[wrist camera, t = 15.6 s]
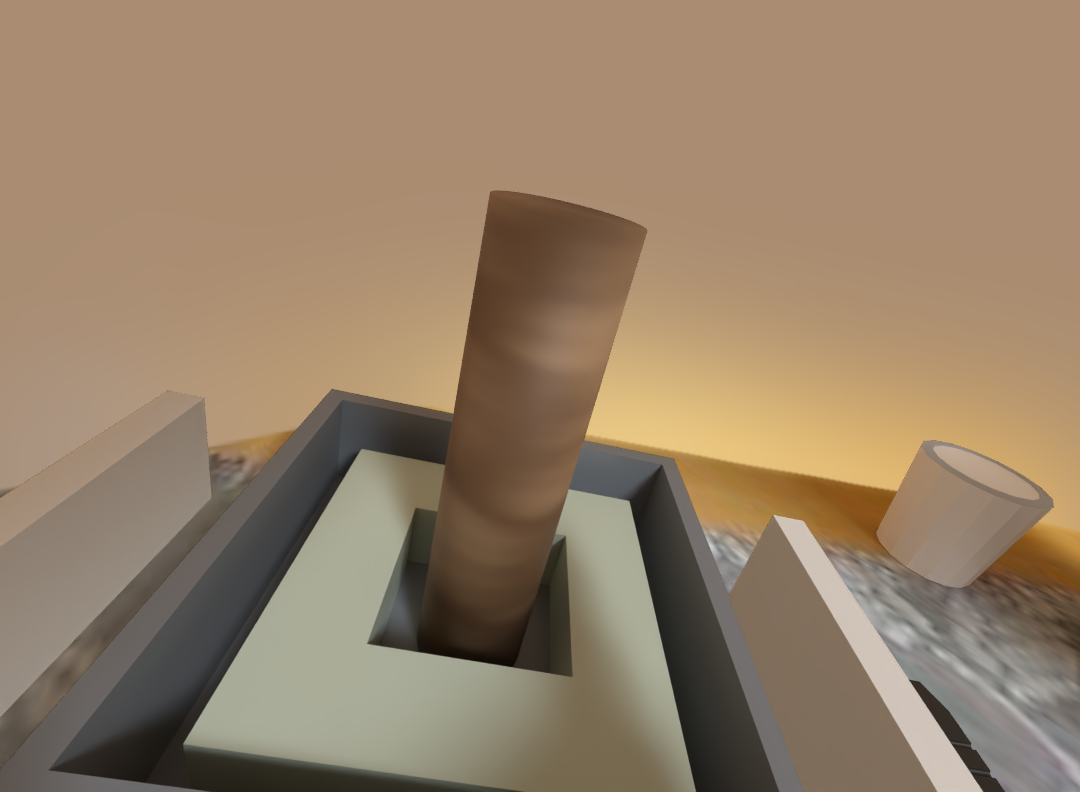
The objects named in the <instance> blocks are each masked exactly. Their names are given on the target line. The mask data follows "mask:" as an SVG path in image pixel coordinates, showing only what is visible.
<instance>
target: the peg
mask: <svg viewBox="0 0 1080 792" xmlns="http://www.w3.org/2000/svg"><path fill="white" fill-rule="evenodd" d="M646 234H647V229H646V228H644V227H643V226H641V225H639V224H637V223H634V222H632V221H629V220H627V219H624V218H621V217H618V216H615V215H612V214H609V213H605V212H602V211H599V210H595V209H592V208H587V207H584V206H581V205H577V204H573V203H569V202H564V201H560V200H555V199H551V198H546V197H541V196H536V195H531V194H525V193H518V192H511V191H491V192H490V196H489V202H488V209H487V214H486V221H485V226H484V233H483V238H482V245H481V251H480V257H479V263H478V270H477V275H476V281H475V287H474V293H473V299H472V305H471V311H470V317H469V323H468V329H467V336H466V342H465V348H464V354H463V360H462V366H461V372H460V378H459V384H458V390H457V396H456V402H455V408H454V414H453V420H452V426H451V432H450V438H449V445H448V451H447V457H446V463H445V469H444V475H443V481H442V487H441V493H440V499H439V505H438V511H437V517H436V523H435V529H434V535H433V541H432V548H431V554H430V560H429V566H428V572H427V578H426V584H425V590H424V596H423V602H422V608H421V614H420V620H419V626H418V632H417V645H418V650H419V653H426V654H432V655H438V656H444V657H451V658H457V659H463V660H469V661H475V662H482V663H488V664H494V665H500V666H506V667H513V665H514V664H515V662H516V660H517V658H518V655H519V651H520V648H521V645H522V642H523V638H524V635H525V632H526V628H527V625H528V622H529V619H530V615H531V612H532V609H533V605H534V602H535V599H536V596H537V592H538V589H539V586H540V582H541V579H542V576H543V572H544V569H545V566H546V563H547V559H548V556H549V553H550V549H551V546H552V543H553V540H554V536H555V533H556V530H557V526H558V523H559V520H560V517H561V513H562V510H563V507H564V503H565V500H566V497H567V494H568V490H569V487H570V484H571V480H572V477H573V474H574V471H575V467H576V464H577V461H578V457H579V454H580V451H581V448H582V444H583V441H584V438H585V434H586V431H587V428H588V424H589V421H590V418H591V415H592V411H593V408H594V405H595V402H596V398H597V395H598V392H599V388H600V385H601V382H602V378H603V375H604V372H605V368H606V365H607V362H608V359H609V355H610V352H611V349H612V346H613V342H614V338H615V336H616V332H617V329H618V326H619V322H620V319H621V316H622V313H623V309H624V306H625V303H626V300H627V296H628V293H629V290H630V286H631V283H632V280H633V277H634V273H635V270H636V267H637V263H638V260H639V257H640V253H641V250H642V247H643V244H644V240H645V237H646Z"/></svg>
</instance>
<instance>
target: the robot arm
mask: <svg viewBox="0 0 1080 792" xmlns="http://www.w3.org/2000/svg"><path fill="white" fill-rule="evenodd" d="M210 499H211V484H210V471H209V457H208V445H207V430H206V417H205V404H204V398H201V397H196V396H191V395H186V394H181V393H176V392H171V391H166V392H165V393H163V394H162V395H160V396H159V397H157V398H155V399H154V400H152V401H151V402H150V403H148V404H146V405H145V406H143V407H141V408H140V409H138V410H137V411H135V412H134V413H132V414H130V415H129V416H128V417H126V418H124V419H123V420H121V421H120V422H118V423H116V424H115V425H114V426H112V427H110V428H109V429H107V430H106V431H104V432H102V433H101V434H99V435H98V436H96V437H95V438H93V439H92V440H90V441H88V442H87V443H85V444H84V445H82V446H81V447H79V448H77V449H76V450H74V451H73V452H71V453H70V454H68V455H66V456H65V457H63V458H62V459H60V460H59V461H57V462H56V463H54V464H52V465H51V466H49V467H48V468H46V469H45V470H43V471H41V472H40V473H38V474H37V475H35V476H34V477H32V478H31V479H29V480H27V481H26V482H24V483H23V484H21V485H20V486H18V487H16V488H15V489H13V490H12V491H10V492H9V493H7V494H6V495H4V496H2V497H1V498H0V717H1V716H2V715H3V714H4V713H5V712H6V711H7V710H8V709H9V708H10V707H11V705H12V704H13V703H14V702H15V701H16V700H17V699H18V698H19V697H20V696H21V695H22V694H23V693H24V692H25V691H26V690H27V689H28V688H29V687H30V686H31V685H32V684H33V683H34V682H35V681H36V680H37V679H38V677H39V676H40V675H41V674H42V673H43V672H44V671H45V670H46V669H47V668H48V667H49V666H50V665H51V664H52V663H53V662H54V661H55V660H56V659H57V658H58V657H59V656H60V655H61V654H62V653H63V652H64V651H65V649H66V648H67V647H68V646H69V645H70V644H71V643H72V642H73V641H74V640H75V639H76V638H77V637H78V636H79V635H80V634H81V633H82V632H83V631H84V630H85V629H86V628H87V627H88V626H89V625H90V624H91V623H92V621H93V620H94V619H95V618H96V617H97V616H98V615H99V614H100V613H101V612H102V611H103V610H104V609H105V608H106V607H107V606H108V605H109V604H110V603H111V602H112V601H113V600H114V599H115V598H116V597H117V596H118V595H119V593H120V592H121V591H122V590H123V589H124V588H125V587H126V586H127V585H128V584H129V583H130V582H131V581H132V580H133V579H134V578H135V577H136V576H137V575H138V574H139V573H140V572H141V571H142V570H143V569H144V568H145V567H146V565H147V564H148V563H149V562H150V561H151V560H152V559H153V558H154V557H155V556H156V555H157V554H158V553H159V552H160V551H161V550H162V549H163V548H164V547H165V546H166V545H167V544H168V543H169V542H170V541H171V540H172V539H173V537H174V536H175V535H176V534H177V533H178V532H179V531H180V530H181V529H182V528H183V527H184V526H185V525H186V524H187V523H188V522H189V521H190V520H191V519H192V518H193V517H194V516H195V515H196V514H197V513H198V512H199V510H200V509H201V508H202V507H203V506H204V505H205V504H206V503H207V502H208V501H209V500H210ZM728 597H729V599H730V602H731V605H732V607H733V610H734V612H735V615H736V618H737V620H738V623H739V625H740V628H741V630H742V633H743V636H744V638H745V641H746V643H747V646H748V648H749V651H750V654H751V656H752V659H753V661H754V664H755V667H756V669H757V672H758V674H759V677H760V679H761V682H762V685H763V687H764V690H765V692H766V695H767V698H768V700H769V703H770V705H771V708H772V710H773V713H774V716H775V718H776V721H777V723H778V726H779V728H780V731H781V734H782V736H783V739H784V741H785V744H786V747H787V749H788V752H789V754H790V757H791V759H792V762H793V765H794V767H795V770H796V772H797V775H798V778H799V780H800V783H801V785H802V788H803V790H804V792H1005V791H1004V790H1003V788H1002V787H1001V785H1000V784H999V783H998V781H997V780H996V778H992V777H991V775H990V770H989V768H988V767H987V765H986V764H985V762H984V761H983V760H982V758H981V757H980V755H979V754H978V752H977V751H976V750H973V749H972V748H971V742H970V741H969V739H968V738H967V737H966V735H965V734H964V732H963V731H962V729H961V728H960V727H959V725H958V724H957V722H956V721H955V719H954V718H953V717H952V715H951V714H950V712H949V711H948V710H947V709H946V708H945V707H944V706H943V705H942V704H941V703H940V702H939V701H938V700H937V699H936V698H935V697H934V696H933V695H932V694H931V693H930V692H929V691H928V690H927V689H926V688H925V687H924V686H923V685H922V684H921V683H920V682H919V681H913V680H909V679H908V678H907V676H906V675H905V673H904V672H903V670H902V669H901V667H900V666H899V664H898V663H897V661H896V660H895V658H894V657H893V655H892V654H891V652H890V651H889V649H888V648H887V646H886V645H885V643H884V642H883V640H882V639H881V637H880V636H879V634H878V633H877V631H876V630H875V628H874V627H873V625H872V624H871V622H870V621H869V619H868V618H867V616H866V615H865V613H864V612H863V610H862V609H861V607H860V606H859V604H858V603H857V601H856V600H855V598H854V597H853V595H852V594H851V592H850V591H849V589H848V588H847V586H846V585H845V583H844V582H843V580H842V579H841V577H840V575H839V574H838V572H837V571H836V569H835V568H834V566H833V565H832V563H831V562H830V560H829V559H828V557H827V556H826V554H825V553H824V551H823V550H822V548H821V547H820V545H819V544H818V542H817V541H816V539H815V538H814V536H813V535H812V533H811V532H810V530H809V529H808V527H807V526H806V524H805V523H804V521H801V520H796V519H791V518H786V517H782V516H777V515H773V516H772V518H771V519H770V521H769V523H768V525H767V527H766V529H765V530H764V532H763V534H762V536H761V538H760V539H759V541H758V543H757V545H756V547H755V549H754V550H753V552H752V554H751V556H750V558H749V559H748V561H747V563H746V565H745V567H744V568H743V570H742V572H741V574H740V576H739V578H738V579H737V581H736V583H735V585H734V587H733V588H732V590H731V592H730V594H729V596H728Z"/></svg>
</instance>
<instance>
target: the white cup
mask: <svg viewBox="0 0 1080 792" xmlns="http://www.w3.org/2000/svg"><path fill="white" fill-rule="evenodd" d="M1053 507H1054V506H1053V499H1052V498H1051V497H1050V496H1049V495H1048V494H1047V493H1046V492H1045V491H1044V490H1043V489H1042V488H1041V487H1039V486H1038V485H1036V484H1035V483H1033V482H1032V481H1030V480H1029V479H1028V478H1026V477H1025V476H1023V475H1022V474H1020V473H1018V472H1016V471H1014V470H1013V469H1011V468H1009V467H1007V466H1005V465H1003V464H1001V463H1000V462H998V461H995V460H993V459H991V458H989V457H986V456H984V455H982V454H979V453H977V452H975V451H972V450H969V449H966V448H963V447H960V446H957V445H954V444H951V443H946V442H941V441H936V440H931V441H923V443H922V445H921V447H920V449H919V451H918V453H917V454H916V456H915V459H914V460H913V462H912V464H911V466H910V468H909V470H908V472H907V474H906V476H905V478H904V479H903V481H902V484H901V485H900V487H899V489H898V491H897V493H896V495H895V497H894V499H893V501H892V503H891V505H890V506H889V508H888V510H887V512H886V514H885V516H884V518H883V520H882V522H881V524H880V526H879V528H878V530H877V532H876V534H877V537H878V540H879V542H880V543H881V545H882V546H883V547H884V548H885V549H886V550H887V551H888V553H889V554H890V555H891V556H893V557H894V558H895V559H897V560H898V561H899V562H900V563H902V564H903V565H904V566H905V567H907V568H909V569H910V570H912V571H914V572H916V573H917V574H919V575H921V576H922V577H924V578H926V579H929V580H931V581H934V582H936V583H939V584H941V585H944V586H949V587H955V588H963V587H966V586H969V585H970V584H971V583H972V582H973V581H974V580H975V579H977V578H978V577H979V576H980V575H981V574H982V573H983V572H984V571H985V570H986V569H987V568H988V567H989V566H991V565H992V564H993V563H994V562H995V561H996V560H997V559H998V558H999V557H1000V556H1001V555H1002V554H1004V553H1005V552H1006V551H1007V550H1008V549H1009V548H1010V547H1011V546H1012V545H1013V544H1014V543H1015V542H1017V541H1018V540H1019V539H1020V538H1021V537H1022V536H1023V535H1024V534H1025V533H1026V532H1027V531H1028V530H1029V529H1031V528H1032V527H1033V526H1034V525H1035V524H1036V523H1037V522H1038V521H1039V520H1040V519H1041V518H1042V517H1043V516H1044V515H1046V514H1047V513H1048V512H1049V511H1050V510H1051V509H1052V508H1053Z"/></svg>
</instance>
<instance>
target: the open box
mask: <svg viewBox="0 0 1080 792" xmlns="http://www.w3.org/2000/svg"><path fill="white" fill-rule="evenodd" d="M452 420H453V414H452V413H447V412H442V411H437V410H432V409H427V408H422V407H417V406H412V405H407V404H402V403H398V402H393V401H388V400H383V399H378V398H373V397H368V396H363V395H359V394H353V393H348V392H344V391H339V390H334V389H332V390H331V391H330V392H329V393H328V394H327V395H326V396H325V397H324V399H323V400H322V401H321V402H320V403H319V404H318V406H317V407H316V408H315V409H314V410H313V411H312V412H311V414H310V415H309V416H308V417H307V418H306V419H305V420H304V422H303V423H302V424H301V425H300V426H299V427H298V428H297V430H296V431H295V432H294V433H293V434H292V435H291V436H290V438H289V439H288V440H287V441H286V442H285V443H284V444H283V446H282V447H281V448H280V449H279V450H278V451H277V452H276V454H275V455H274V456H273V457H272V458H271V459H270V460H269V462H268V463H267V464H266V465H265V466H264V467H263V469H262V470H261V471H260V472H259V473H258V474H257V475H256V477H255V478H254V479H253V480H252V481H251V482H250V483H249V485H248V486H247V487H246V488H245V489H244V490H243V491H242V493H241V494H240V495H239V496H238V497H237V498H236V499H235V501H234V502H233V503H232V504H231V505H230V506H229V508H228V509H227V510H226V511H225V512H224V513H223V514H222V516H221V517H220V518H219V519H218V520H217V521H216V522H215V524H214V525H213V526H212V527H211V528H210V529H209V530H208V532H207V533H206V534H205V535H204V536H203V537H202V538H201V540H200V541H199V542H198V543H197V544H196V545H195V547H194V548H193V549H192V550H191V551H190V552H189V553H188V555H187V556H186V557H185V558H184V559H183V560H182V561H181V563H180V564H179V565H178V566H177V567H176V568H175V569H174V571H173V572H172V573H171V574H170V575H169V576H168V577H167V579H166V580H165V581H164V582H163V583H162V584H161V586H160V587H159V588H158V589H157V590H156V591H155V592H154V594H153V595H152V596H151V597H150V598H149V599H148V600H147V602H146V603H145V604H144V605H143V606H142V607H141V608H140V610H139V611H138V612H137V613H136V614H135V615H134V616H133V618H132V619H131V620H130V621H129V622H128V623H127V625H126V626H125V627H124V628H123V629H122V630H121V631H120V633H119V634H118V635H117V636H116V637H115V638H114V639H113V641H112V642H111V643H110V644H109V645H108V646H107V647H106V649H105V650H104V651H103V652H102V653H101V654H100V655H99V657H98V658H97V659H96V660H95V661H94V662H93V664H92V665H91V666H90V667H89V668H88V669H87V670H86V672H85V673H84V674H83V675H82V676H81V677H80V678H79V680H78V681H77V682H76V683H75V684H74V685H73V686H72V688H71V689H70V690H69V691H68V692H67V693H66V694H65V696H64V697H63V698H62V699H61V700H60V701H59V703H58V704H57V705H56V706H55V707H54V708H53V709H52V711H51V712H50V713H49V714H48V715H47V716H46V717H45V719H44V720H43V721H42V722H41V723H40V724H39V725H38V727H37V728H36V729H35V730H34V731H33V732H32V733H31V735H30V736H29V737H28V738H27V739H26V740H25V742H24V743H23V744H22V745H21V746H20V747H19V748H18V750H17V751H16V752H15V753H14V754H13V755H12V756H11V758H10V759H9V760H8V761H7V762H6V763H5V764H4V766H3V767H2V768H1V769H0V792H804V790H803V788H802V785H801V783H800V780H799V778H798V775H797V772H796V770H795V767H794V765H793V762H792V759H791V757H790V754H789V752H788V749H787V747H786V744H785V741H784V739H783V736H782V734H781V731H780V728H779V726H778V723H777V721H776V718H775V716H774V713H773V710H772V708H771V705H770V703H769V700H768V698H767V695H766V692H765V690H764V687H763V685H762V682H761V679H760V677H759V674H758V672H757V669H756V667H755V664H754V661H753V659H752V656H751V654H750V651H749V648H748V646H747V643H746V641H745V638H744V636H743V633H742V630H741V628H740V625H739V623H738V620H737V618H736V615H735V612H734V610H733V607H732V605H731V602H730V599H729V597H728V596H729V595H728V592H727V590H726V587H725V585H724V582H723V580H722V577H721V575H720V572H719V570H718V567H717V565H716V562H715V560H714V557H713V555H712V552H711V550H710V547H709V545H708V542H707V540H706V537H705V535H704V532H703V530H702V527H701V525H700V522H699V520H698V517H697V515H696V512H695V510H694V507H693V505H692V502H691V500H690V498H689V495H688V493H687V490H686V488H685V485H684V483H683V480H682V478H681V475H680V473H679V470H678V468H677V465H676V463H675V460H674V459H672V458H668V457H663V456H658V455H653V454H648V453H643V452H638V451H633V450H628V449H623V448H618V447H614V446H609V445H604V444H599V443H594V442H589V441H583V444H582V448H581V451H580V454H579V457H578V461H577V464H576V467H575V471H574V474H573V477H572V480H571V484H570V487H569V490H568V494H567V497H566V500H565V503H564V507H563V510H562V513H561V517H560V520H559V523H558V526H557V530H556V533H555V536H554V540H553V543H552V546H551V549H550V553H549V556H548V559H547V563H546V566H545V569H544V572H543V576H542V579H541V582H540V586H539V589H538V592H537V596H536V599H535V602H534V605H533V609H532V612H531V615H530V619H529V622H528V625H527V628H526V632H525V635H524V638H523V642H522V645H521V648H520V651H519V655H518V658H517V660H516V662H515V664H514V665H513V667H506V666H500V665H494V664H488V663H482V662H475V661H469V660H463V659H457V658H451V657H444V656H438V655H432V654H426V653H419V650H418V645H417V632H418V626H419V620H420V614H421V608H422V602H423V596H424V590H425V584H426V578H427V572H428V566H429V560H430V554H431V548H432V541H433V535H434V529H435V523H436V517H437V511H438V505H439V499H440V493H441V487H442V481H443V475H444V469H445V463H446V457H447V451H448V445H449V438H450V432H451V426H452Z"/></svg>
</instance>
